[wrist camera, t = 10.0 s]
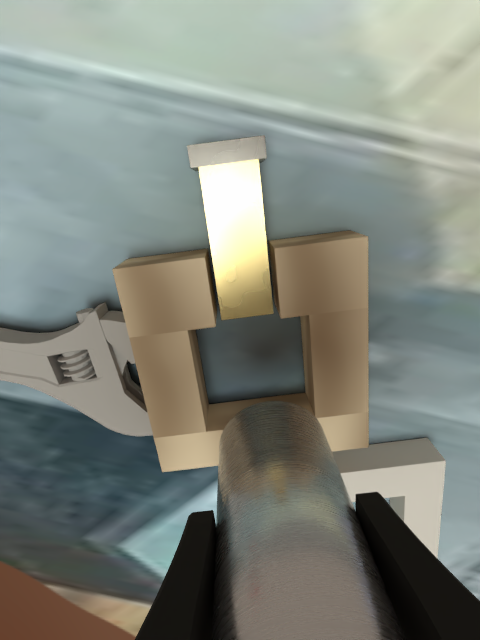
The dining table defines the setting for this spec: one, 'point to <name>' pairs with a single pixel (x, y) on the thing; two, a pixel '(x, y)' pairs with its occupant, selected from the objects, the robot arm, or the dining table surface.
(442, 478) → the white square frame
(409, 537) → the robot arm
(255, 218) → the key
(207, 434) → the socket block
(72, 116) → the dining table surface
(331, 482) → the grey cylinder
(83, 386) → the adjustable wrench
